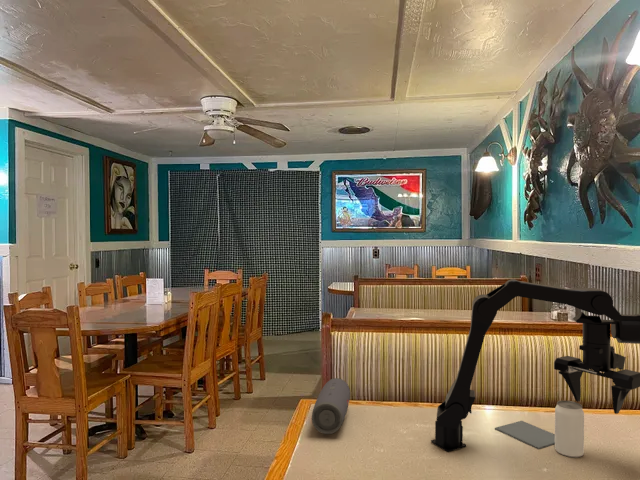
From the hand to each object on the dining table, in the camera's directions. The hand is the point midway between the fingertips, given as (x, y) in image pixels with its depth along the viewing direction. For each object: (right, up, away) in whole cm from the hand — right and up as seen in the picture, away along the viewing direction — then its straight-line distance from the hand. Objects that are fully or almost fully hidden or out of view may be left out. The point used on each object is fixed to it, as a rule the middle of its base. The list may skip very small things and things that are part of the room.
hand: (596, 407), depth 113 cm
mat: (-9, -13, +16) cm, 23 cm away
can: (-4, -14, +6) cm, 15 cm away
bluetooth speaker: (-62, -13, +24) cm, 68 cm away
